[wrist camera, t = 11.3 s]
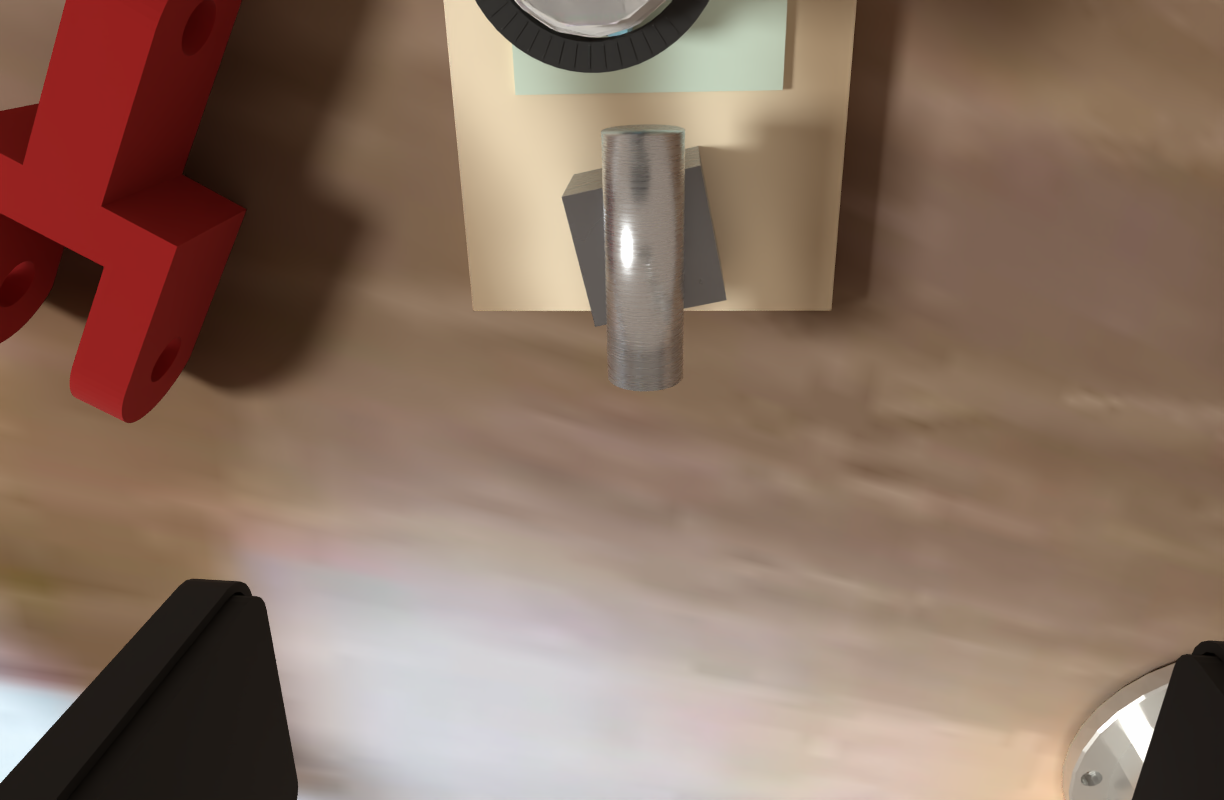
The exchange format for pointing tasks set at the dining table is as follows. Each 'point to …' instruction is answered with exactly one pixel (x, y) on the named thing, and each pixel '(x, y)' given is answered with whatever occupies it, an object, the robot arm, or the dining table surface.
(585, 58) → the push button
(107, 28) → the mechanical linkage
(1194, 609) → the dining table surface
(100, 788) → the robot arm
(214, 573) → the dining table surface
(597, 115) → the board
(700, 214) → the cylinder and cube
